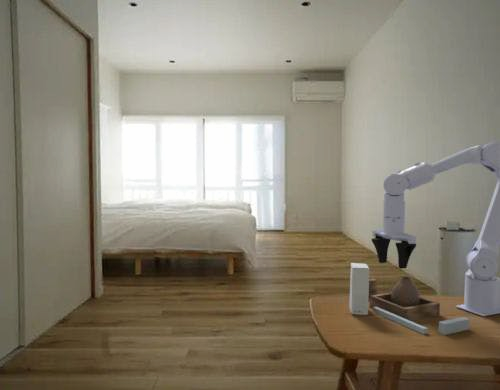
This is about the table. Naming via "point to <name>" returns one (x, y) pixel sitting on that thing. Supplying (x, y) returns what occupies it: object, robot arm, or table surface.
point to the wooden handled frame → (410, 313)
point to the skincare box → (359, 289)
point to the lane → (444, 327)
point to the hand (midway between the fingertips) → (392, 265)
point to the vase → (405, 293)
